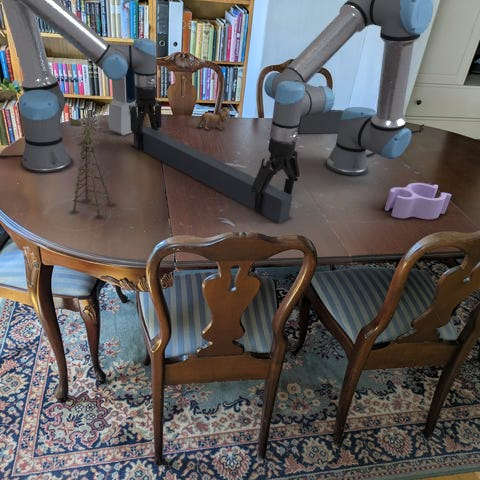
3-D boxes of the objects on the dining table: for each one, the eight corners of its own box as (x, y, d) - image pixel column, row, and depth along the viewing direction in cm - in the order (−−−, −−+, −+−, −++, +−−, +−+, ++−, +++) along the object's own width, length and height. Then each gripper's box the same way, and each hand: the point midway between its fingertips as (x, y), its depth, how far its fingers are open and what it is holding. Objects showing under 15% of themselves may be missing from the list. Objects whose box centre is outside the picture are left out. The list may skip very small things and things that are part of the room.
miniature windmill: (98, 218, 133) (90, 115, 117) (71, 213, 134) (59, 110, 118) (112, 203, 141) (106, 105, 124) (86, 199, 142) (76, 100, 125)
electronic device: (121, 136, 186) (117, 57, 170) (107, 131, 189) (102, 53, 173) (142, 128, 196) (141, 53, 179) (129, 124, 199) (126, 49, 182)
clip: (399, 222, 147) (405, 203, 144) (377, 203, 157) (382, 185, 153) (449, 217, 154) (457, 198, 150) (426, 199, 163) (432, 181, 160)
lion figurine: (226, 125, 208) (227, 105, 203) (230, 130, 204) (231, 109, 199) (194, 126, 203) (195, 106, 198) (197, 131, 199) (198, 110, 194)
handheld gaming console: (340, 130, 217) (344, 109, 212) (343, 132, 215) (347, 111, 209) (295, 131, 210) (299, 109, 204) (298, 134, 208) (301, 111, 202)
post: (133, 146, 179) (133, 127, 175) (144, 143, 183) (143, 124, 178) (278, 223, 141) (282, 200, 136) (288, 217, 144) (292, 195, 140)
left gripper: (130, 92, 158) (133, 156, 170) (172, 85, 169) (171, 145, 182) (117, 86, 162) (121, 149, 174) (159, 80, 174) (159, 139, 186)
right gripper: (264, 153, 121) (255, 222, 133) (319, 134, 138) (306, 198, 149) (243, 143, 125) (236, 212, 137) (298, 127, 142) (288, 189, 153)
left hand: (146, 147), depth 178 cm, fingers closed on post, 5 cm apart
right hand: (272, 205), depth 143 cm, fingers open, 13 cm apart
